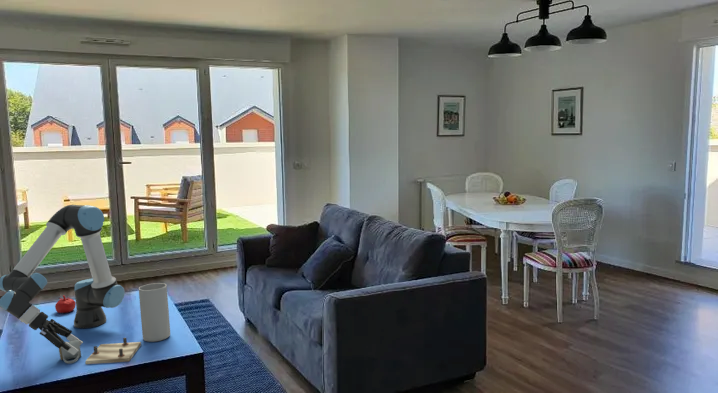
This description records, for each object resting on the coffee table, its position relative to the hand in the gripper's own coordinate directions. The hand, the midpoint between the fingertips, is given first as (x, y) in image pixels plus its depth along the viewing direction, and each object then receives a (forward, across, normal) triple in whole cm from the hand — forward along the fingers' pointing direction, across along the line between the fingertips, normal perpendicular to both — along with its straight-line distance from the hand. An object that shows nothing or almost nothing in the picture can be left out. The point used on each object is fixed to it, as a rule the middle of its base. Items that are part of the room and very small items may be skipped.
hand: (78, 348), depth 240 cm
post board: (+13, +2, +8) cm, 15 cm away
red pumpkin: (-12, -70, -17) cm, 73 cm away
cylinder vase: (+25, -12, +20) cm, 34 cm away
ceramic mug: (+1, +1, -5) cm, 5 cm away
